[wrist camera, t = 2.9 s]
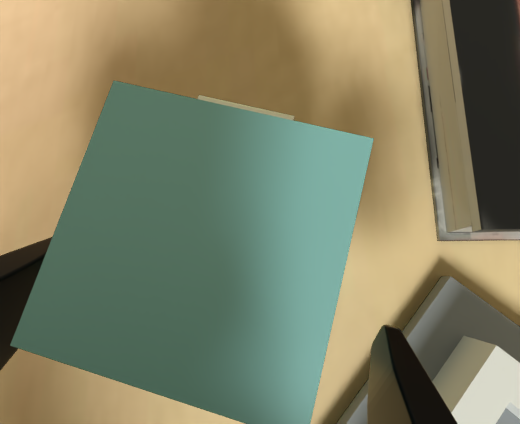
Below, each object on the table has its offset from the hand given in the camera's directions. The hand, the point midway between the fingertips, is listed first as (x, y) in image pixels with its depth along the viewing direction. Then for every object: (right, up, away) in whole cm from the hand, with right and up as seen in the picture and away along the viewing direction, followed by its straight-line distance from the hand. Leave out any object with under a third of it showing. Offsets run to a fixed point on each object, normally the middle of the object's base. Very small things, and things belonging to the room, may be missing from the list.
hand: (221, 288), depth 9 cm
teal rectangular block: (+1, -1, +9) cm, 9 cm away
